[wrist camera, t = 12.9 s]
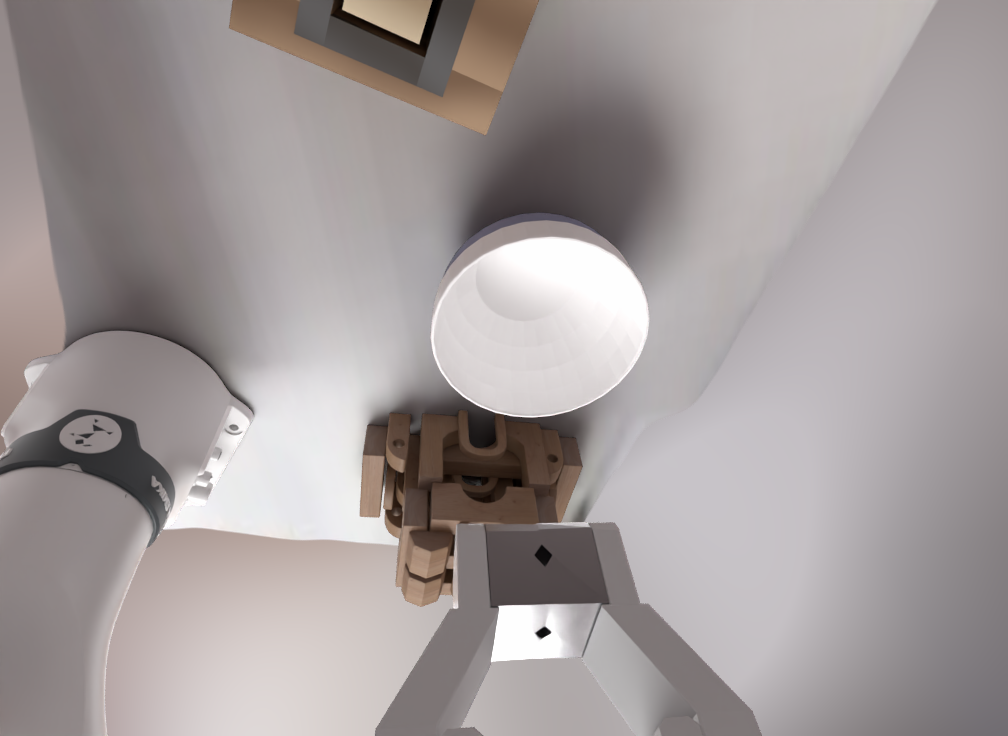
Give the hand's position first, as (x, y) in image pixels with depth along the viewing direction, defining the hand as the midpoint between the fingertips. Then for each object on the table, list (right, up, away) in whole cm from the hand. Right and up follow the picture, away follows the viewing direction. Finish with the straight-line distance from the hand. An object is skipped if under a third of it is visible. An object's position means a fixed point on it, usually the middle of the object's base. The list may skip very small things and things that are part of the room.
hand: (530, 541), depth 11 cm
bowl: (+1, +12, +39) cm, 40 cm away
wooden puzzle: (-4, -7, +53) cm, 53 cm away
